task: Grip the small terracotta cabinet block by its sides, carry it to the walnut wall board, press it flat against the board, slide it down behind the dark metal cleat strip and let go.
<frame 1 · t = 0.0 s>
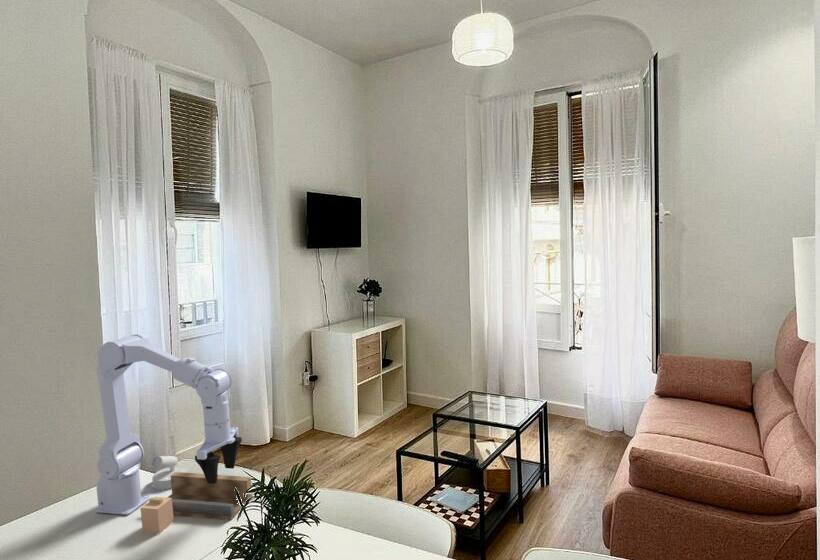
hand: (221, 475, 125), 10 cm above the table, tool pointing down, fingers open, 7 cm apart
wall board: (207, 501, 132), on the table
cabinet block: (158, 526, 122), on the table
wall hook: (168, 484, 143), on the table
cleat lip: (192, 506, 126), point 2 cm above the table
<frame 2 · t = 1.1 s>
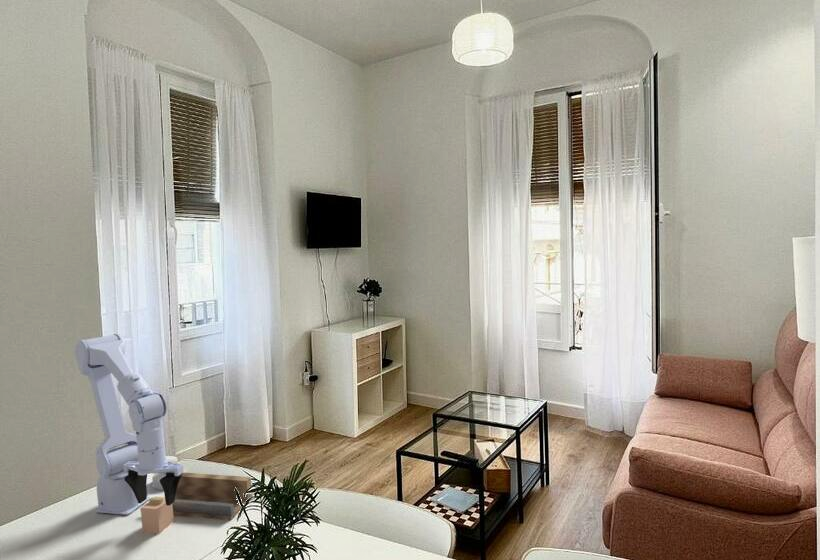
hand: (156, 502, 121), 6 cm above the table, tool pointing down, fingers open, 7 cm apart
nothing on the table moved.
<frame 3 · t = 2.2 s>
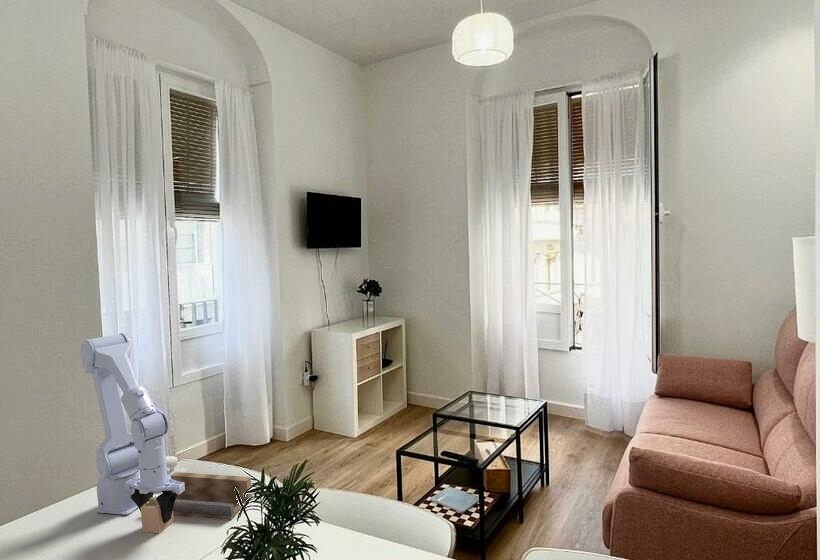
hand: (157, 519, 121), 2 cm above the table, tool pointing down, fingers closed on cabinet block, 4 cm apart
cabinet block: (158, 526, 122), on the table, touching gripper
everything else where it was.
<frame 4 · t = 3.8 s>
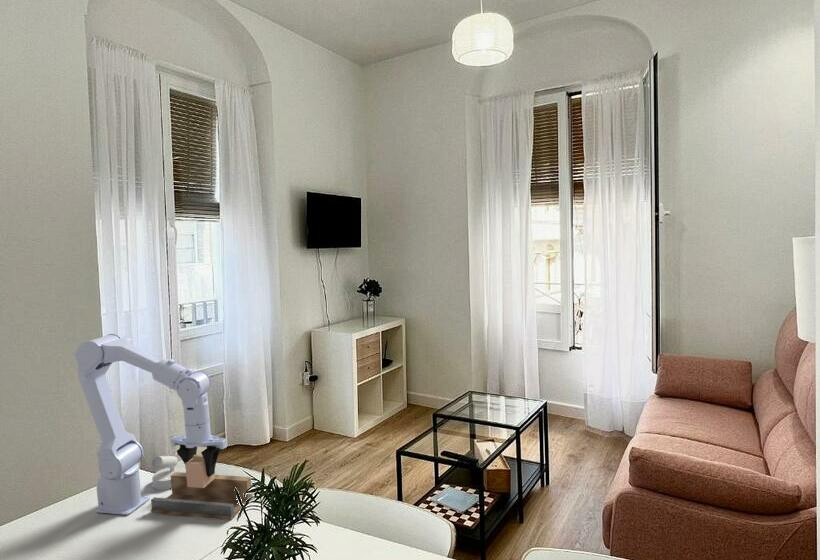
hand: (201, 474, 129), 9 cm above the table, tool pointing down, fingers closed on cabinet block, 4 cm apart
cabinet block: (201, 482, 128), point 7 cm above the table, touching gripper
everything else where it was.
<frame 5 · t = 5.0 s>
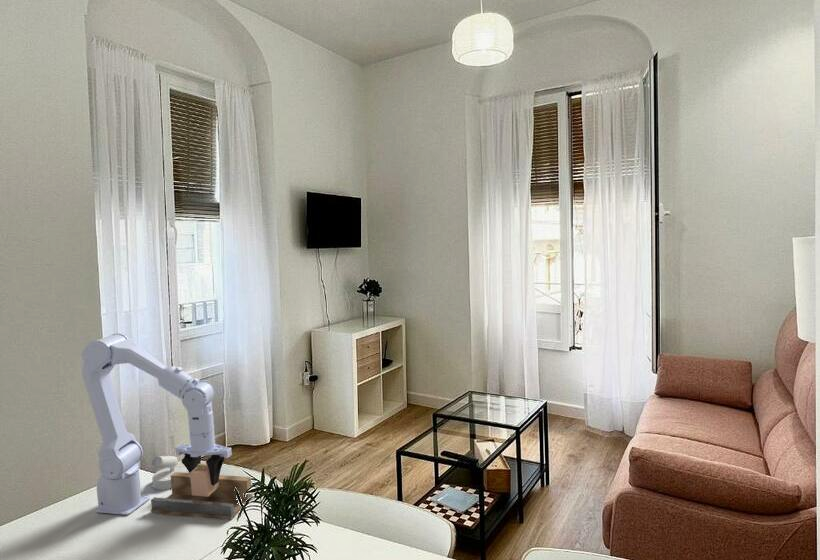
hand: (206, 482, 130), 6 cm above the table, tool pointing down, fingers closed on cabinet block, 4 cm apart
cabinet block: (206, 490, 130), point 4 cm above the table, touching gripper
everything else where it was.
when the fingers open (4 cm above the table, at t = 5.9 s): cabinet block stays where it is, resting on wall board.
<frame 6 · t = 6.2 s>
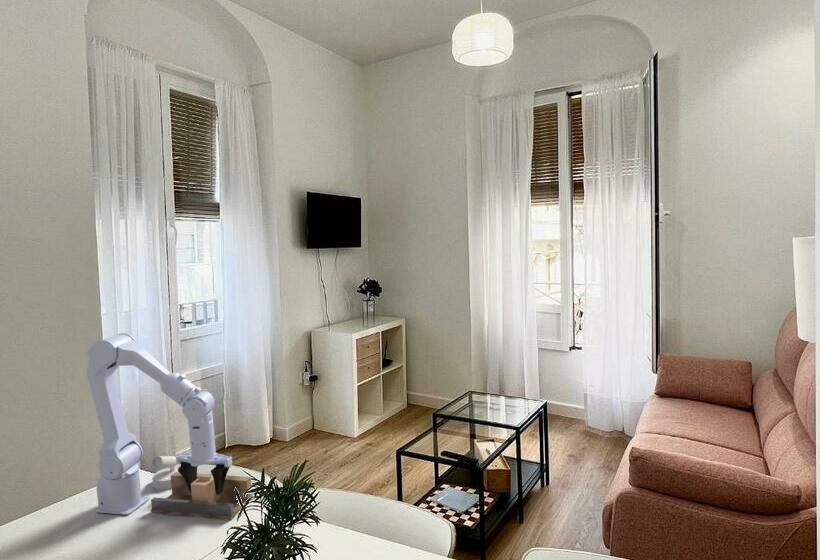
hand: (206, 491, 130), 4 cm above the table, tool pointing down, fingers open, 7 cm apart
cabinet block: (206, 502, 130), point 1 cm above the table, touching wall board
everything else where it was.
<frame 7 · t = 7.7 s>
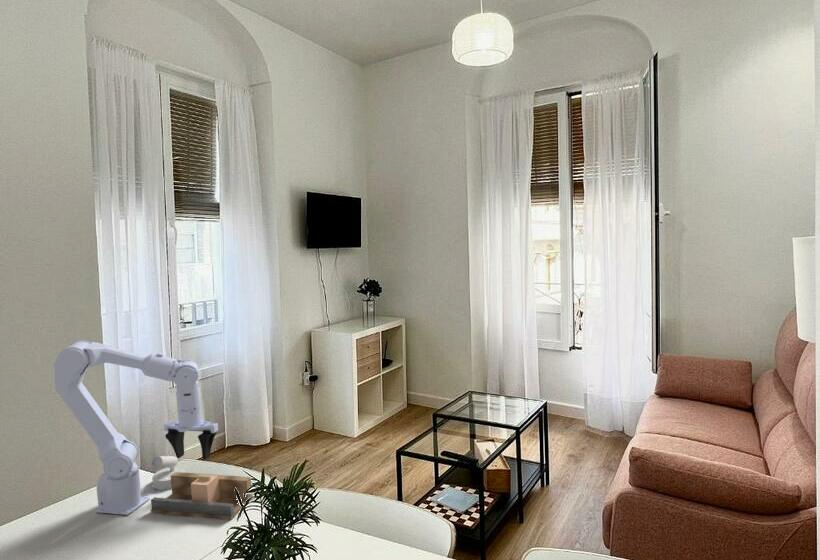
hand: (193, 457, 136), 10 cm above the table, tool pointing down, fingers open, 7 cm apart
nothing on the table moved.
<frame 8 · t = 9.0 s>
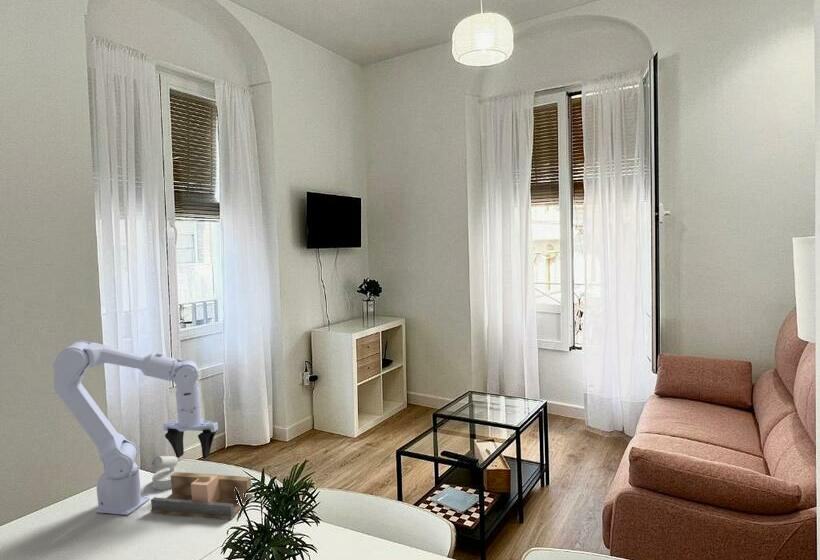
hand: (193, 456, 136), 10 cm above the table, tool pointing down, fingers open, 7 cm apart
nothing on the table moved.
at the end: cabinet block inside the target area on the wall board (1.2 cm from its centre), point 0.8 cm above the wall board's base; cabinet block tilted 0°; the gripper is holding nothing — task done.
